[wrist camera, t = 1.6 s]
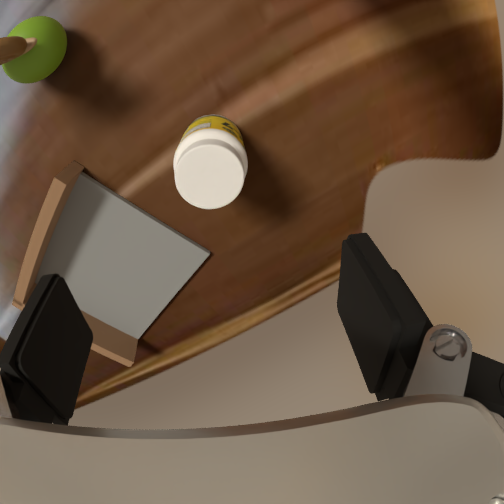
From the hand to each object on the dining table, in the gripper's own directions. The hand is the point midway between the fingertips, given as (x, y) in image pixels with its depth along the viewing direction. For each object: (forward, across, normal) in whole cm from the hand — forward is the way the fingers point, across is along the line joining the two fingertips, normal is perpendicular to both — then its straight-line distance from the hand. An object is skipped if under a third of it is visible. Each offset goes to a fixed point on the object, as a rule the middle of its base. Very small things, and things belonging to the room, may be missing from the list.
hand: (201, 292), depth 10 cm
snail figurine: (+18, +13, -12) cm, 25 cm away
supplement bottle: (+18, 0, 0) cm, 18 cm away
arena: (+18, +12, +11) cm, 24 cm away
